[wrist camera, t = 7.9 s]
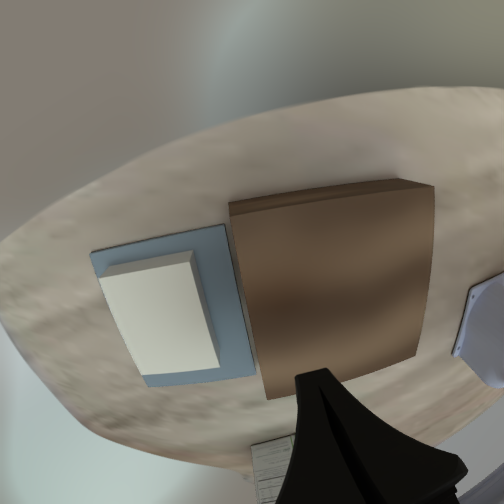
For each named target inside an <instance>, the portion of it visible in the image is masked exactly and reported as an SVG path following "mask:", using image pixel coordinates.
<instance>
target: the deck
mask: <svg viewBox="0 0 504 504" xmlns="http://www.w3.org/2000/svg"><path fill="white" fill-rule="evenodd" d="M434 210H435V196H434V186H431V185H427V184H422V183H418V182H413V181H409V180H404V179H399V178H398V179H388V180H378V181H369V182H360V183H352V184H344V185H336V186H329V187H321V188H314V189H307V190H301V191H294V192H288V193H281V194H275V195H269V196H263V197H257V198H252V199H246V200H241V201H235V202H230V203H229V215H230V221H231V227H232V232H233V237H234V242H235V247H236V252H237V258H238V263H239V268H240V273H241V278H242V283H243V288H244V293H245V298H246V303H247V307H248V312H249V317H250V322H251V327H252V332H253V337H254V341H255V346H256V351H257V356H258V360H259V365H260V370H261V374H262V379H263V383H264V388H265V393H266V397H267V400H271V399H276V398H281V397H286V396H290V395H295V394H296V388H295V379H294V377H295V376H296V375H297V374H302V373H306V372H310V371H314V370H318V369H322V368H328V369H329V370H330V371H331V373H332V374H333V375H334V376H335V377H336V379H337V380H338V381H339V382H340V383H341V382H344V381H347V380H351V379H354V378H357V377H360V376H363V375H366V374H369V373H372V372H375V371H378V370H380V369H383V368H386V367H388V366H391V365H394V364H396V363H399V362H401V361H404V360H406V359H409V358H411V357H414V356H415V355H416V351H417V347H418V343H419V339H420V334H421V329H422V324H423V319H424V314H425V308H426V302H427V296H428V289H429V282H430V273H431V264H432V253H433V239H434Z"/></svg>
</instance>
